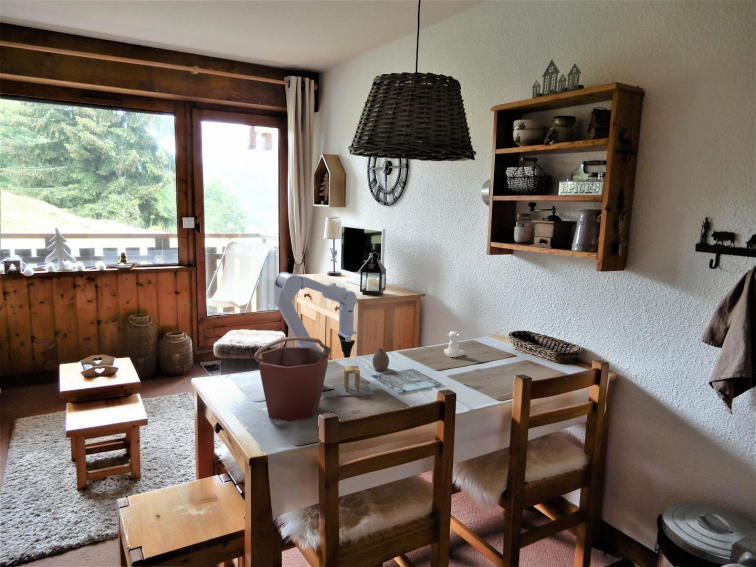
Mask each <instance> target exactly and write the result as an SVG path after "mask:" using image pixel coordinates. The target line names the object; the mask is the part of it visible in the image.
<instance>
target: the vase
mask: <svg viewBox="0 0 756 567" xmlns="http://www.w3.org/2000/svg"><path fill="white" fill-rule="evenodd" d="M389 365H390V358H389V355H388V354H387V352H386V351H385V349H384V348H378V349H377V351H376V352H375V353H374V355H373V357H372V366H373V368H374V369H375V370H376V371H377V370H378V372H385V371H386V370H387V369H388V368H389Z"/></svg>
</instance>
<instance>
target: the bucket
mask: <svg viewBox="0 0 756 567" xmlns="http://www.w3.org/2000/svg"><path fill="white" fill-rule="evenodd" d="M296 340H301V341H310V342H315V343H316V344H319V346H320V347H321V349H323V350H322V351H323V352H320V351H318V350H315V349H313V348H303V347H297V346H292V347H291V346H290V347H289V346H281V347H277V348H274V349H271V350H270V348H271V347H274V346H276V345H278V344H281V343H284V342H290V341H296ZM268 349H269V350H268ZM266 350H267V351H266ZM331 353H332V348H330V346H328V345H326V344H324V343H323V342H322V340H320V339H318V338H313V337H310V338H308V337H294V336H286V337H281V338H278V339H276V340H273V341H270V342H269V343H266V344H264V345H262V346H261V347H259V349H258V350H257V351H256V352H255V353H254V355H253V356H254V357H253V358H254V360H255V361H256V362H257V363H258V367H259V374H260V380H261V384H262V389H263V393H264V394H263V395H264V399H265V403H266V409H267V414H268V418H271V419H276V420H278V421H279V420H280V421H283V422H288V423H291V422H296V421H301V420H306V419H312V418H313V416H314V415H315V414H316V412H317V411H318V410H319V407H320V402H321V397H322V393H323V389H324V382H325V378H326V375H327V371H328V370H327V369H328V365H329V356H330V354H331Z"/></svg>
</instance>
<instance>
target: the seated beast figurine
mask: <svg viewBox="0 0 756 567" xmlns="http://www.w3.org/2000/svg"><path fill="white" fill-rule="evenodd" d="M459 336H460V333H458V332H457V331H456V330H451V331H450V332H449V333H446V337H447V338H448V339H449V343H448V346H447V348H444V350H443V353H445V356H446V357H448V356H449V357H448V358H450V357H453V358H452V359H457V358H456V357H458V358H459V356H460V357H462V356H463V355H464V354H465V352H466V351H464V350H463V349H460V345H459V341H458V339H459ZM454 357H455V358H454Z"/></svg>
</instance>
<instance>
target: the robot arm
mask: <svg viewBox="0 0 756 567" xmlns="http://www.w3.org/2000/svg"><path fill="white" fill-rule="evenodd" d="M275 277H276V278H275V280H274V283H273V285H274V289H275V290H274V302H275V304H276V307H277V308H278V311H279V312H280V315H281V316H282V318H283V320H284V321H285V323H286V325H287V327H288V329H289V331H290V332H291V335H292V337H308V338H311V336H310V335H309V332H308V331H307V329H306V327H305V325H304V324H303V321H302V320H301V318H300V316H299V313H298V312H297V310H296V309H295V306H294V305H293V299H294V298H295V297H296V296H297V294H298V293H299V292H300V290H305V289H306V288H308V289H311V290H314V291H316V292H320V293H321V294H322V297H324V298H325V299H328V300H331V301H333V302H337V303H339V304H338V306H339V308H338V310H339V311H338V332H337V336H338V338H339V342H340V349H341V352H342V353H343V357H344V359H346V358H348V359H349V358H350V357H351V353H352V350H353V346H354V344H355V342H356V341H355V340H354V339H352V337H353V336H354V335H356V334H358V333H357V330H354V324H355V306H356V304H357V302H358V297H357V295H356V294H355V292H354V291H351V290H348V289H347V288H346V287H344V286H342V287H341V286H338V285H337V283H335V282H327V283H326V284H324V283H321V282H319V281H316V280H313V279H311V278H309V277H307V276H303V275H299V274H295V273H289V272H287V271H281V272H279V273H278V274H277V276H275ZM295 341H296V343H295V345H296V347H303V348H313V349H315V350H318V351H320V352H323V351H324V350H322V348H320V347H319V346H318V345H317V343H315V342H310V341H301V340H295Z"/></svg>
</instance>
